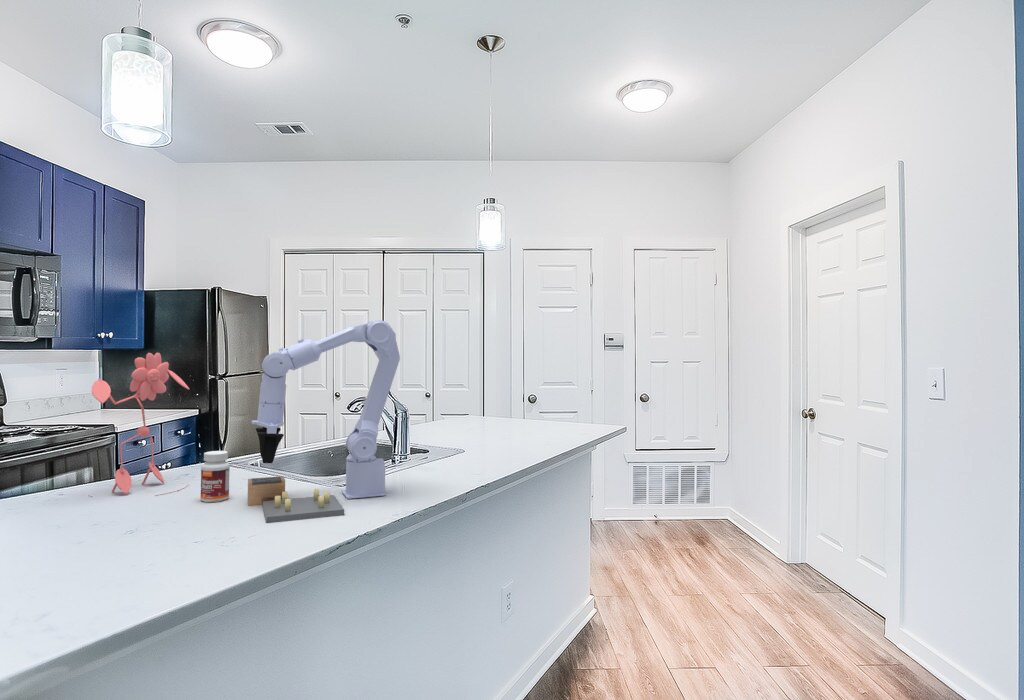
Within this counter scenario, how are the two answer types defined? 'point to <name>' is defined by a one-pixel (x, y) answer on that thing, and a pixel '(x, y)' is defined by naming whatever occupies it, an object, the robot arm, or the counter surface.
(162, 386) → the figurine
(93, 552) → the counter surface
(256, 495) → the tan wooden block
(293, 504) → the grey peg board
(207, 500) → the pill bottle
